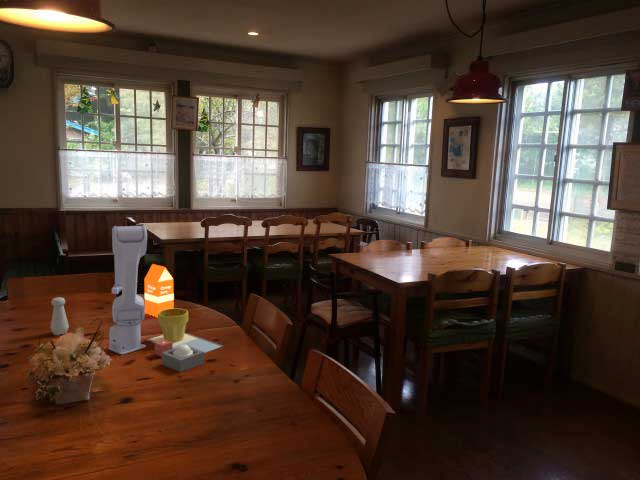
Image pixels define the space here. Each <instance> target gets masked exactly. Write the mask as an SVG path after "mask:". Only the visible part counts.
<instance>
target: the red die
mask: <svg viewBox="0 0 640 480" xmlns="http://www.w3.org/2000/svg"><path fill="white" fill-rule="evenodd" d="M171 349H173V342H170V341H168V340H162V341H158V342H155V343H154V355H156V356H158V357H160V358H162V352H165V351H168V350H171Z"/></svg>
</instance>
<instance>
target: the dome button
mask: <svg viewBox="0 0 640 480" xmlns="http://www.w3.org/2000/svg"><path fill="white" fill-rule="evenodd" d="M192 354H193V351H192V350H191V349H190V347H189V346H188V345H185V344H182V345H179V346H178V347H177V348H176V350H175V351H174V352H173V355H175V356H177V357H180V358H183V357H186V356H189V355H192Z"/></svg>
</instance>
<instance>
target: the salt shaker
mask: <svg viewBox="0 0 640 480" xmlns="http://www.w3.org/2000/svg"><path fill="white" fill-rule="evenodd" d="M65 304H66V299H65V298H64V297H60V296H59V297H53V298H52V299H51V306H53V309H52V317H51V322H50V330H51V332H52V335H54V336H61V335H60V334H64V333H65V334H67V333H68V330H69V327H70V326H69V322H68V317H67V315H66V310H65V306H64V305H65ZM65 334H64V335H65Z"/></svg>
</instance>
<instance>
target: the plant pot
mask: <svg viewBox="0 0 640 480" xmlns="http://www.w3.org/2000/svg"><path fill="white" fill-rule="evenodd" d="M157 322H158V324H159V325H160V328H161V332H162V335H163V336H164V340H168V341H170V342H176V341H180V340H182V339H183V338H184V333H186V328H187V323H188V322H189V311H188V310H187V309H184V308H179V307H174V308H171V309H165V310H162V311H160V312H159V313H158V318H157Z"/></svg>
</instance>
